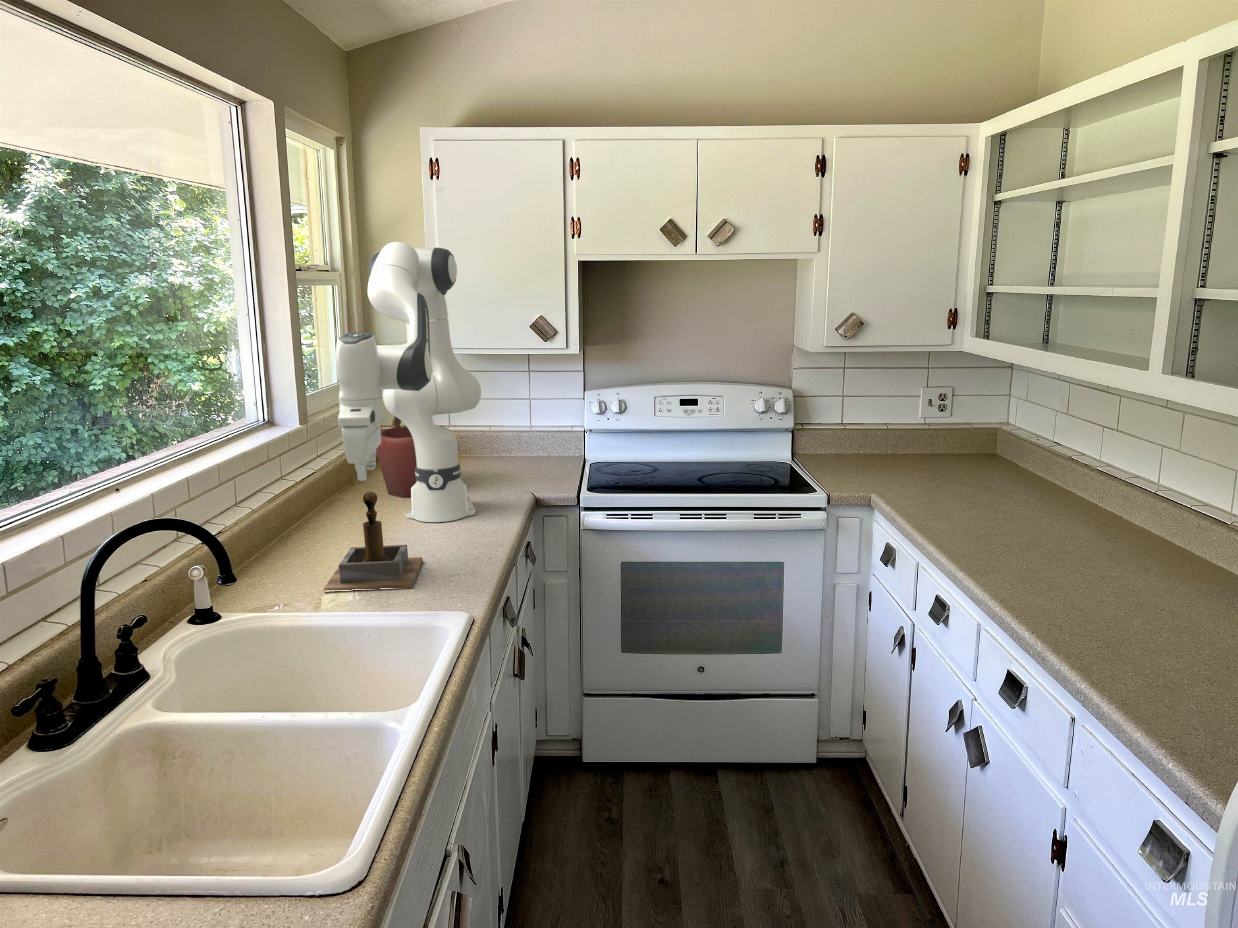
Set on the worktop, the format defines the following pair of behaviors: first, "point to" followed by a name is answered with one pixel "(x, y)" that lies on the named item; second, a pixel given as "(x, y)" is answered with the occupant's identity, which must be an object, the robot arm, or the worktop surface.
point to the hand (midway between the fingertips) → (367, 474)
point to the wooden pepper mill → (373, 531)
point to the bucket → (397, 459)
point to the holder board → (375, 570)
